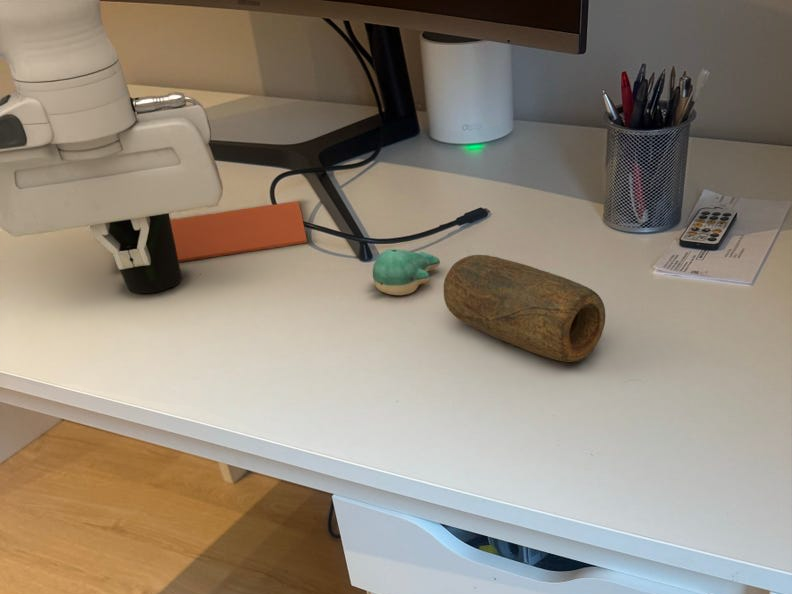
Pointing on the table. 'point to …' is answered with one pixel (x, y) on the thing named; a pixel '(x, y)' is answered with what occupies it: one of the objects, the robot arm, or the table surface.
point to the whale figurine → (402, 270)
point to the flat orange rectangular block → (238, 231)
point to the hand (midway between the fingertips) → (135, 265)
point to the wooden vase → (525, 306)
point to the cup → (161, 253)
